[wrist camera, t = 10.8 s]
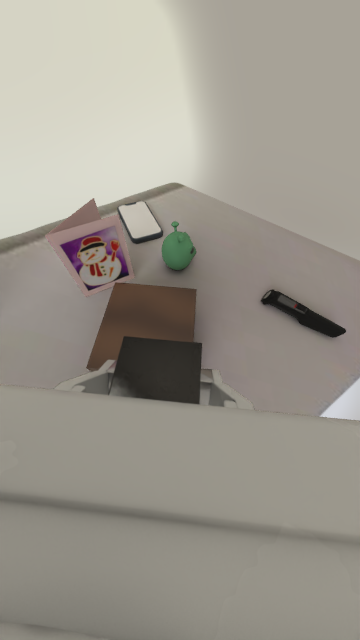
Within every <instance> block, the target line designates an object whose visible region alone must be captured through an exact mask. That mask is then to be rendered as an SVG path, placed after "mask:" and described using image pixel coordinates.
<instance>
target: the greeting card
mask: <svg viewBox="0 0 360 640" xmlns="http://www.w3.org/2000/svg"><path fill="white" fill-rule="evenodd" d="M45 236H46V238H47V239H48V241H49V242H50V244H51V245H52V247H53V248H54V250H55V251H56V253H57V254H58V256H59V258H60V259H61V261H62V262H63V264H64V265H65V267H66V268H67V270H68V271H69V273H70V274H71V276H72V277H73V279H74V280H75V282H76V283H77V285H78V286H79V288H80V289H81V291H82V292H83V294H84V295H85V297H88V296H90V295H93V294H95V293H98V292H100V291H103V290H105V289H108V288H110V287H113V286H114V285H115V282H117V283H123V282H126V281H128V280H131V279H133V278H135V275H134V272H133V268H132V264H131V260H130V256H129V253H128V249H127V245H126V241H125V237H124V233H123V230H122V226H121V222H120V218H119V214H117V215H114V216H110V217H107V218H104V219H101V218H100V215H99V212H98V209H97V206H96V203H95V201H94V198H93V199H92V200H90V201H89V202H88V203H87V204H85V205H84V206H83V207H82V208H80V209H79V210H78V211H76V212H75V213H74V214H72V215H71V216H70V217H68V218H67V219H66V220H65V221H63V222H62V223H61V224H59V225H58V226H57V227H56V228H54V229H53V230H52V231H50V232H49V233H48V234H47V235H45Z"/></svg>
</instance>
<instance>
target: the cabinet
mask: <svg viewBox="0 0 360 640" xmlns="http://www.w3.org/2000/svg"><path fill="white" fill-rule="evenodd" d="M195 305H196V289H188V288H176V287H165V286H153V285H141V284H129V283H117V282H115V285H114V288H113V291H112V294H111V297H110V300H109V302H108V305H107V308H106V311H105V314H104V317H103V320H102V323H101V326H100V329H99V332H98V335H97V338H96V341H95V344H94V347H93V350H92V353H91V356H90V359H89V361H88V364H87V367H86V368H87V369H89V370H90V371H95V370H96V371H98V370H99V369H100V368H101V367H102V365H103V364H104V363H105V362H106V361H107V360H117V359H118V355H119V352H120V348H121V344H122V340H123V337H124V336H129V337H140V338H151V339H162V340H172V341H183V342H193V338H194V321H195Z"/></svg>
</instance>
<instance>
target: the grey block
mask: <svg viewBox="0 0 360 640" xmlns="http://www.w3.org/2000/svg"><path fill="white" fill-rule="evenodd" d="M201 353H202V343H194V342H183V341H172V340H162V339H151V338H140V337H129V336H124V337H123V340H122V344H121V348H120V352H119V355H118V359H117V363H116V367H115V370H114V374H113V378H112V381H111V385H110V389H109V393H108V395H112V396H122V397H132V398H142V399H151V400H161V401H171V402H180V403H190V404H200V379H201Z"/></svg>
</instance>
